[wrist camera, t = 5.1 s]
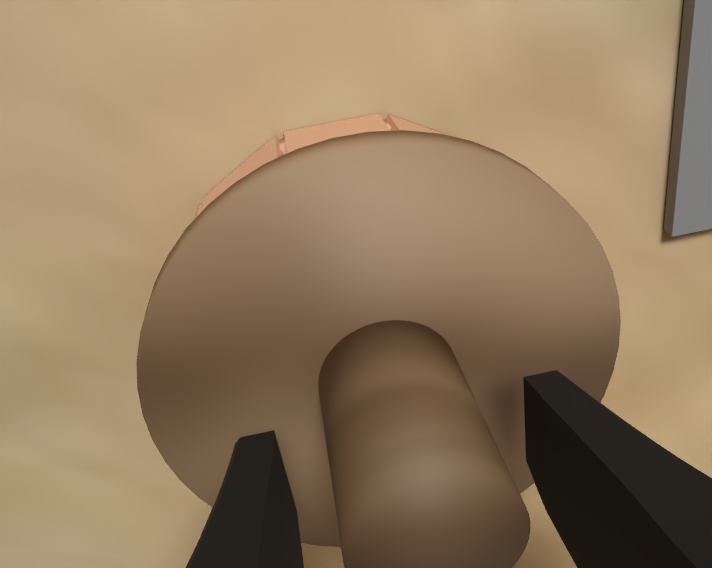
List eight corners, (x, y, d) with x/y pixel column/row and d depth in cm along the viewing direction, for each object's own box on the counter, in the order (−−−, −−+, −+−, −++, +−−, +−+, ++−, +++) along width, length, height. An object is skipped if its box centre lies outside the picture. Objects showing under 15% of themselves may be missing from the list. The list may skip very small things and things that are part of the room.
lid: (578, 486, 17) (688, 675, 12) (193, 548, 16) (172, 773, 12) (630, 102, 12) (834, 202, 8) (84, 162, 11) (-15, 309, 7)
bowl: (532, 390, 19) (579, 470, 16) (231, 455, 19) (228, 548, 16) (525, 85, 15) (588, 123, 12) (132, 160, 14) (104, 218, 12)
